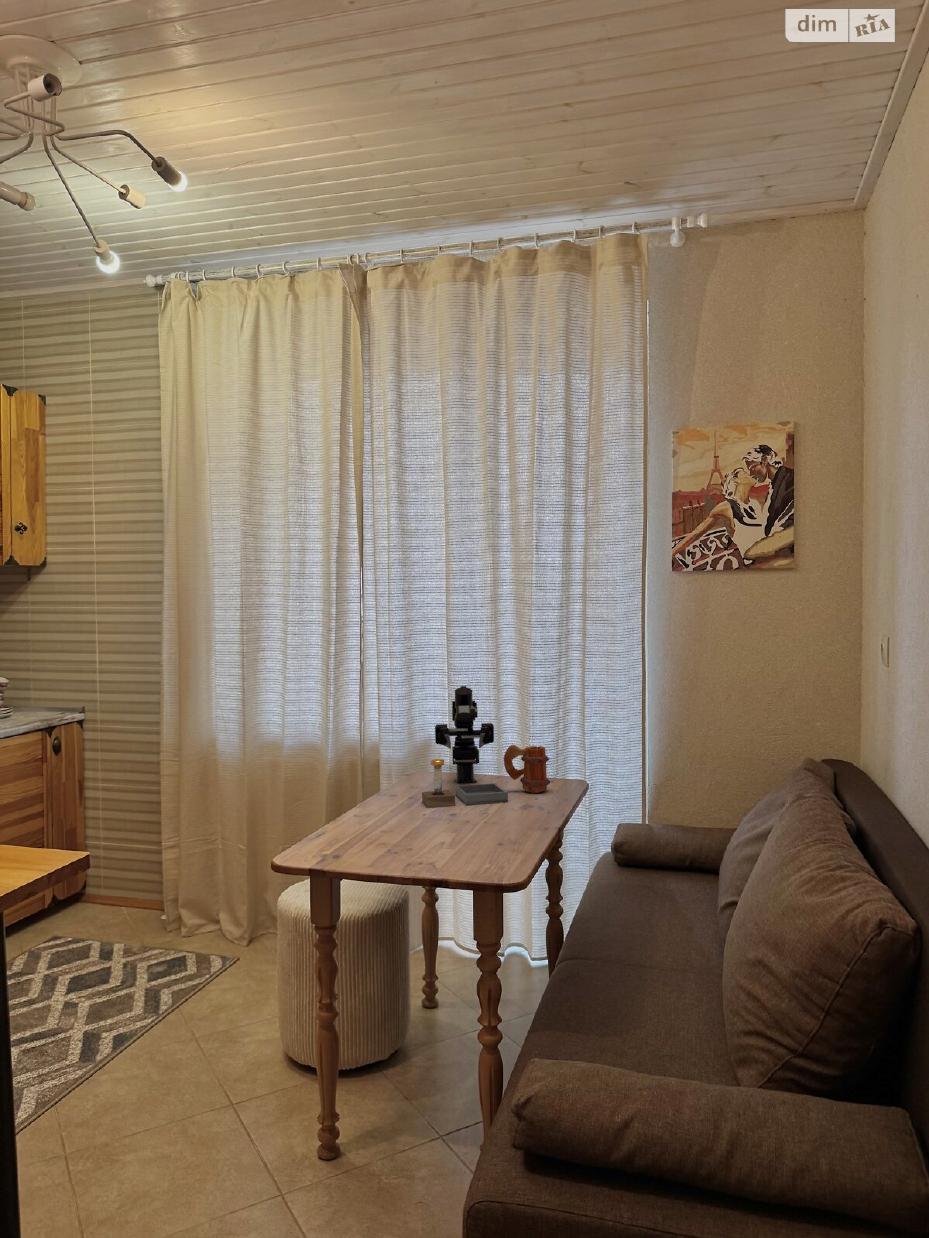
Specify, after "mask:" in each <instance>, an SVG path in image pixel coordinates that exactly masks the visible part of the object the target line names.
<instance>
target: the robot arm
mask: <svg viewBox="0 0 929 1238" xmlns="http://www.w3.org/2000/svg"><path fill="white" fill-rule="evenodd" d="M451 703H452V704H451V717H452V722H453V723H454V724H453V725H454V727H453V728H452V727H451V728H448V724H447V723H445V724H444V723H443V724H442V723H441V724H435V726H434V736H435V741H434V742H435V744H436V745H440V746H444V747H446V748H448V749H452V750H451V751H452V753H451V754H452V765H456V778H454V779H453V780H454V781H455V782H456V783H457V784H471V783H477V782H478V781H477V779H475V777H474V776H475V774H474V772H475V771H474V765H478V764H480V750H479V749H481V748H483V747H484V746H485V745H489V744H493V743H494V742H495V725H494V724H493V723H492V722H490V723H489V722H487V723H486V722H485V723H480V725H481V727H480V729H474V721H476V718H477V719H478V702H476V700H473V689H471V688H470V687H467V686H466V685H464V686H463V685H460V687H458V688H455V690H454V700H452V701H451ZM450 737H454V743H453V744H454V745H453V746H452V745H451V744H452V742H451V739H450ZM475 739H479V740H478V746H477V745H476V741H475Z"/></svg>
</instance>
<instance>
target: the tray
mask: <svg viewBox="0 0 929 1238" xmlns="http://www.w3.org/2000/svg"><path fill="white" fill-rule="evenodd" d="M455 797H456V798H458V799H459V800H460V801H461V802H462V803H463V804H464V805H465V804H466V805H465V806H475V804H478V805H486V804H487V805H488V804H498V803H499V804H501V803H500V802H503V803H509V792H508V791H507V790H505V789H504V788H503V787H501V786H500V785H499V784H497V783H481V784H480V783H479V784H469V785H467V784H466V785H465V784H464V785H455Z"/></svg>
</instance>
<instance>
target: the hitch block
mask: <svg viewBox="0 0 929 1238" xmlns="http://www.w3.org/2000/svg"><path fill="white" fill-rule="evenodd" d="M421 797H422V798H421V799H422V804H424V805H425V807H426V808H427V809H431V808H441V807H455V806H456V794H453V792H452V791H451V790H449V789H445V790H444V789H442V795H434V790H433V791H431V790H430V791H422V792H421Z"/></svg>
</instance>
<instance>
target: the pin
mask: <svg viewBox="0 0 929 1238" xmlns="http://www.w3.org/2000/svg"><path fill="white" fill-rule="evenodd" d="M430 765H431V766H433V789H434V790H433V791H434V795H442V790H443V777H442V776H443V775H442V774H443V773H442V771H443V769H442V768H443V767H442V766H444V765H445V759H441V758H437V759H431V760H430Z"/></svg>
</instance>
